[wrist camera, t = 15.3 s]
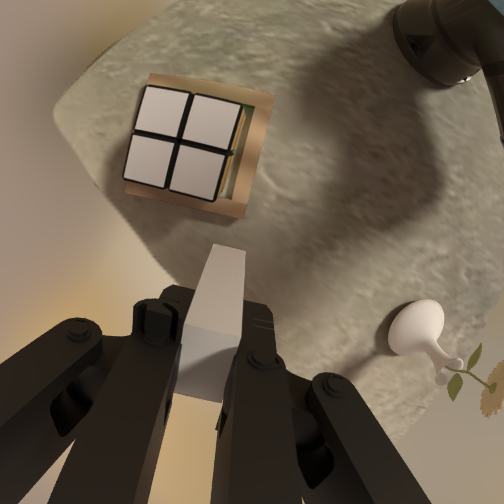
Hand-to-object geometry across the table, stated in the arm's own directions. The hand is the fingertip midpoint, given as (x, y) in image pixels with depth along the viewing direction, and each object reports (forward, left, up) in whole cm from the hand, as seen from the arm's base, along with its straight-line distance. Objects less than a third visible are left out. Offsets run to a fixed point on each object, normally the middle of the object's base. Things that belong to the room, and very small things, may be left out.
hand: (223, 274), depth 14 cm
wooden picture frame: (-5, -7, -26) cm, 28 cm away
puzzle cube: (-5, -7, -26) cm, 27 cm away
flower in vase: (+13, +34, -27) cm, 45 cm away
